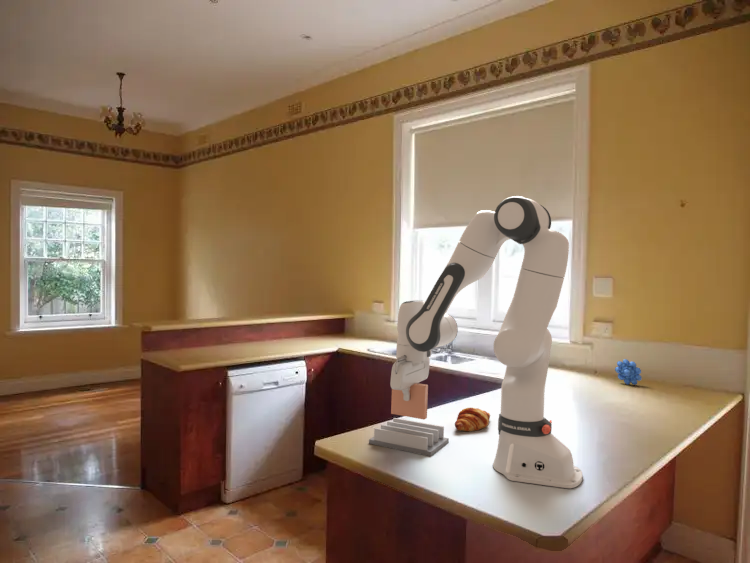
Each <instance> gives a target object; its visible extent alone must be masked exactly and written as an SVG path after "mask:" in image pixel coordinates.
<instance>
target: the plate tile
mask: <svg viewBox="0 0 750 563" xmlns="http://www.w3.org/2000/svg"><path fill="white" fill-rule="evenodd" d="M409 392H410V394H411V399H410V400H409V401H405V400H404V399H403V396H404V394H403V392H402V390H395V389H392V388H391V407H390V408H391V409H390V414H391V415H396V416H402V417H403V416H404V417H408V418H412V419H413V418H414V419H419V420H426V419H427V418H428V397H429V396H428V395H429V393H428V392H429V385H428V384H426V383H420V382H419V383H416V384H414V385H412V386H410V390H409Z"/></svg>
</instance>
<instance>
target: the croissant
mask: <svg viewBox="0 0 750 563" xmlns="http://www.w3.org/2000/svg"><path fill="white" fill-rule="evenodd" d="M490 418H491V414H490V413H489V412H487V411H486V410H482V409H480V408H479V407H478V408H475V407H465V408H463V409H462V410H460V411H459V412H458V414H457V417H456V421H455V423H454V427H455V429H456V430H458V431H461V432H462V431H463V432H475V431H480V430H482V429H484V428H486V427H487V426H488V425H489V424H490Z"/></svg>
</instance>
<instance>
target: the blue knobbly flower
mask: <svg viewBox="0 0 750 563" xmlns="http://www.w3.org/2000/svg"><path fill="white" fill-rule="evenodd" d="M616 365H617V366H615V368H614V371H615V373H617V379H619V380H621V381H623V382H624V383H625V385H630V384H632V385H634V386H635V385H636V386H637V384H638V382H639V381H642V375H641V373H642V369H640V368H641V367H637V363H636V362H635V361H632V360H631V361H629V359H627V358H624V359H623V360H622V361H620V360H618V361H617V362H616Z"/></svg>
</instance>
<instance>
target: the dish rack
mask: <svg viewBox="0 0 750 563" xmlns="http://www.w3.org/2000/svg"><path fill="white" fill-rule="evenodd" d="M444 430H445V427H444V426H442V425H438V424H433V423H425V422H419V421H414V420H410V419H409V420H408V419H402V418H396V417H393V419H392V421H389V420H387V421H386V424H380V428H378V427H374V430H373V432H374V433H373V434H374V435H373V437H371V438H370V439H369V440H368V444H370V445H375V446H379V447H384V448H388V449H389V448H390V449H393V450H399V451H404V452H409V453H413V454H419V455H423V456H427V457H428V456H429V457H432V456H433V455H434V454H436V453H437V452H438V451H439V450H440V449H441V450H442V448H443V447H445V446H446V445H447V444H448V443H449V438H448V437H444V433H445V432H444Z"/></svg>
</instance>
